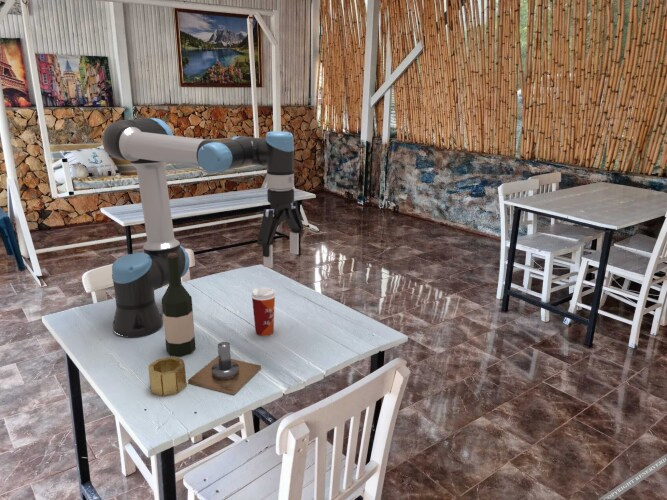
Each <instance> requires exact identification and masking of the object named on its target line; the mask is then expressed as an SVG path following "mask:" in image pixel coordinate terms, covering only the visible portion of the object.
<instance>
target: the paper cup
mask: <svg viewBox="0 0 667 500" xmlns="http://www.w3.org/2000/svg"><path fill="white" fill-rule="evenodd" d="M276 296H277V295H276V292H275V290H274V289H272V288H270V287H256V288H254V289H253V290H252V292H251V294H250V297H251V300H252V311H253V320H254V328H255V329H254V330H255V334H256V335H257V336H259V337H268V336H270V335H272V334H273V333H274V326H275V299H276Z"/></svg>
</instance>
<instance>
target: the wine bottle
mask: <svg viewBox="0 0 667 500" xmlns="http://www.w3.org/2000/svg"><path fill="white" fill-rule="evenodd" d="M167 267H168V278H169V284H168V286H167V288H166V290H165V292H164V294H163V296H162V297H161V309H162V311H161V312H162V318H163V330H164V338H165V339H164V340H165V349H166V353H167V354H168V355H169V357H176V358H182V357H185V356H188V355H192V353H194V351H195V350H196V348H197V347H196V336H195V326H194V325H195V322H194V312H193V311H194V310H193V298H192V296H191V294H190V293H189V292H188V291H187V289H186V287H185V286H184V285H183V283H182V277H181V271H180V260H179V256H178V255H177V253H169V254H168V257H167Z"/></svg>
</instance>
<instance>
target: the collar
mask: <svg viewBox="0 0 667 500" xmlns="http://www.w3.org/2000/svg"><path fill="white" fill-rule="evenodd" d="M147 368H148V377H149V385H150V386H149V387H150V392H152V394H154V395H157V396H161V397H163V396H164V397H167V396H172V395H177V394H179V393H180V392H181V391H183V390H184V389H186V387H187V375H186V365H185V361H184V359H183V358H181V357H176V356H167V357H161V358H158V359H156V360H154V361H153V362H151V363H149V365H148V366H147Z"/></svg>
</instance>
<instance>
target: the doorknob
mask: <svg viewBox="0 0 667 500" xmlns="http://www.w3.org/2000/svg"><path fill="white" fill-rule="evenodd" d="M231 357H232V356H231V343H230V342H228V341H221V342H218V343H217V356H216V357H215V358H213V359H212V360H211V361H210V362H208V363H207V364H206V365H205V366H204V367H203V368H201V369H200V370H198V372H196V373H195V374H194V375H193V376H191V377H190V378H189V379H188V381H187V382H188V385H193V386H196V387H201V388H205V389H209V390H213V391H216V392H220V393H222V394H223V393H224V394H227V395H232V396H235V395H236V394H237V393H238V392H239V391H240V390H241V389H242V388H243V387H244V386H245V385H246V384H247V383H248V382H249V381H250V380H251V379H252V378H253V377H254V376H256V374H257V373H258V372H260V370H261V369H262V365H260V364H255V363H251V362H247V361H243V360H238V359H235V358H231Z"/></svg>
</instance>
